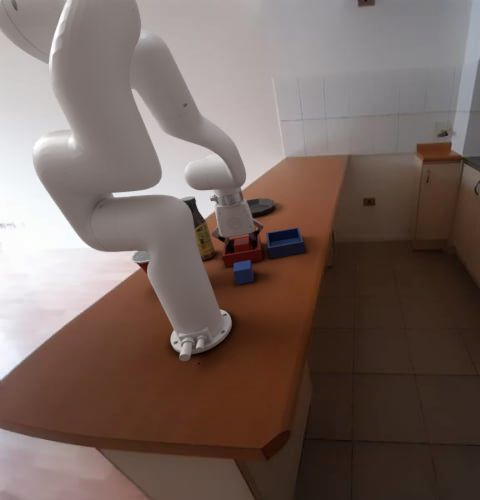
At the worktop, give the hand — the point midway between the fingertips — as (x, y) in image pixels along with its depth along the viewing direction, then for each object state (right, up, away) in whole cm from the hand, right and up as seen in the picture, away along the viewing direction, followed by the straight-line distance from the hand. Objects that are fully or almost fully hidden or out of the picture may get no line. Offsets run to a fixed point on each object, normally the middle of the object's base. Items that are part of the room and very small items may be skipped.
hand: (243, 250), depth 90 cm
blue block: (+4, -8, -11) cm, 14 cm away
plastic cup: (-17, -10, -11) cm, 23 cm away
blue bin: (+13, +1, +4) cm, 14 cm away
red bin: (0, -1, +1) cm, 2 cm away
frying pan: (-5, +14, +29) cm, 32 cm away
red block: (0, -1, +1) cm, 1 cm away
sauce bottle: (-13, -2, +2) cm, 13 cm away
